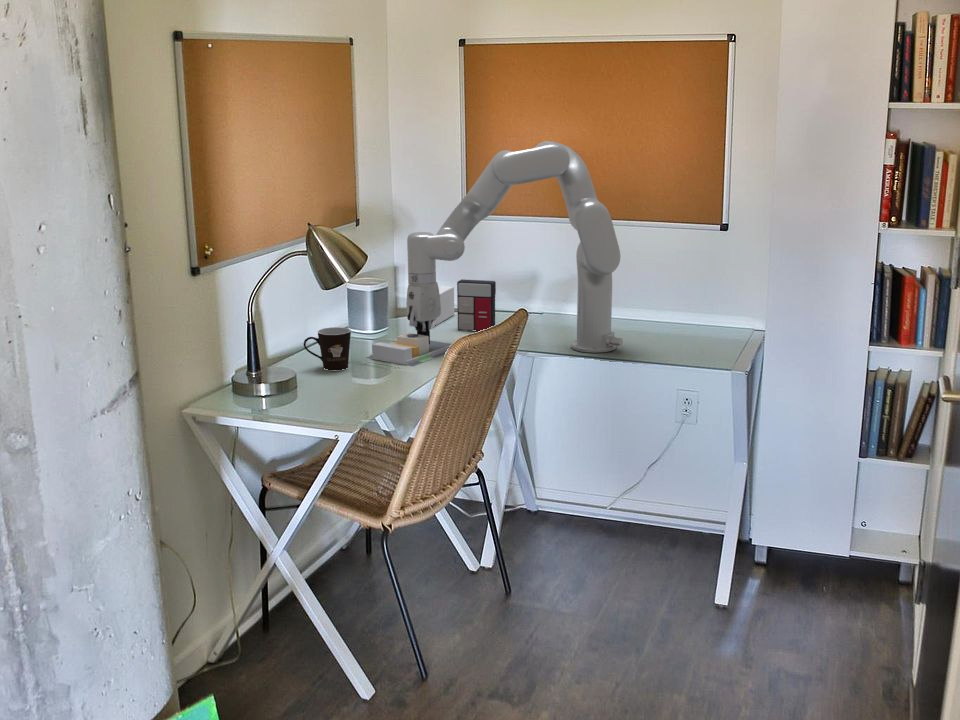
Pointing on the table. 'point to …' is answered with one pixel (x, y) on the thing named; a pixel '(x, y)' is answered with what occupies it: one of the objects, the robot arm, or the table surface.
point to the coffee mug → (333, 347)
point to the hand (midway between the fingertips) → (423, 344)
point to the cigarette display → (445, 304)
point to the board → (406, 353)
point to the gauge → (415, 341)
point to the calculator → (476, 304)
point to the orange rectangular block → (414, 349)
